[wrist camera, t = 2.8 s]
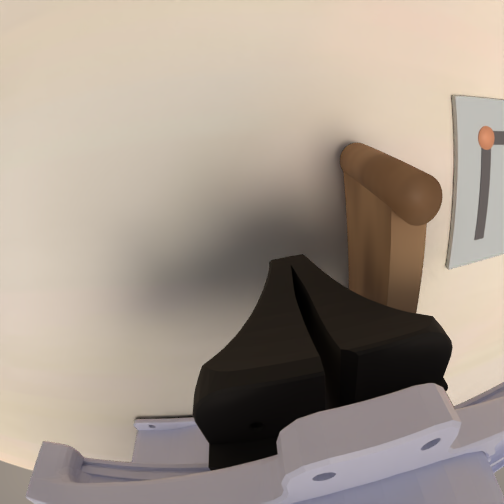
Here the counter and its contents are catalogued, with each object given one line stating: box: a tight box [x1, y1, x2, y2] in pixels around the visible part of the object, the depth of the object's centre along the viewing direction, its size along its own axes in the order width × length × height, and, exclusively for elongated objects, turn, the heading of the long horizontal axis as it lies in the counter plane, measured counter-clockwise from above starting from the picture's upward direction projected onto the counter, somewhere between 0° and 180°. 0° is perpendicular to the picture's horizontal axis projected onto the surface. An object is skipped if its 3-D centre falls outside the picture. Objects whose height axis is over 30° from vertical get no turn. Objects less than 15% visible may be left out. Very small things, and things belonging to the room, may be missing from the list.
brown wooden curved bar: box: [340, 143, 442, 313], centre depth 12 cm, size 14×2×5 cm, turn 10°
